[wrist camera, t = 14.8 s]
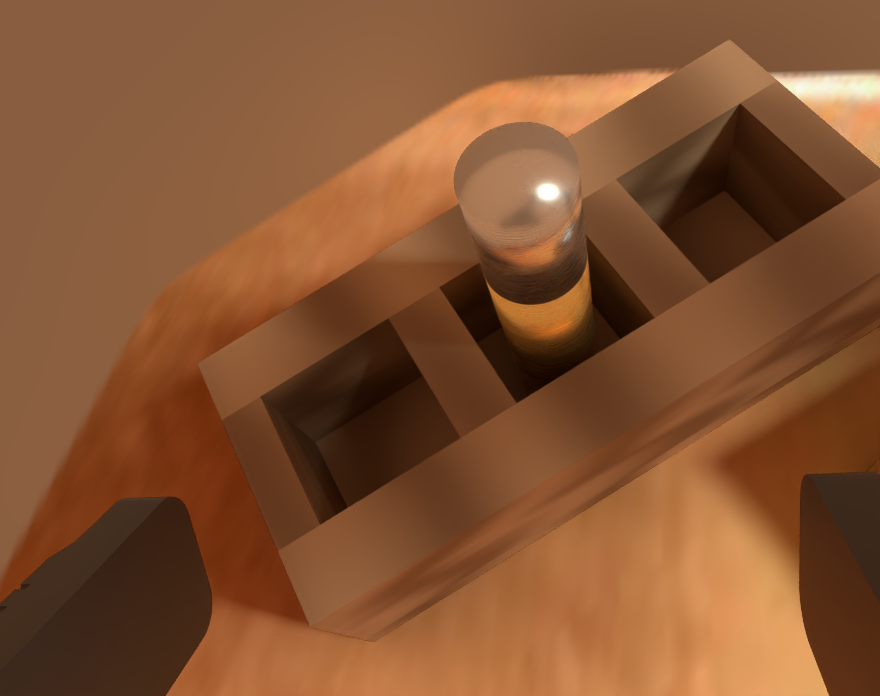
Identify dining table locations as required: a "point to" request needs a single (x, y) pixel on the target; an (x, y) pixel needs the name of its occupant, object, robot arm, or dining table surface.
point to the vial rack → (579, 390)
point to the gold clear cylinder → (531, 245)
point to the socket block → (875, 467)
